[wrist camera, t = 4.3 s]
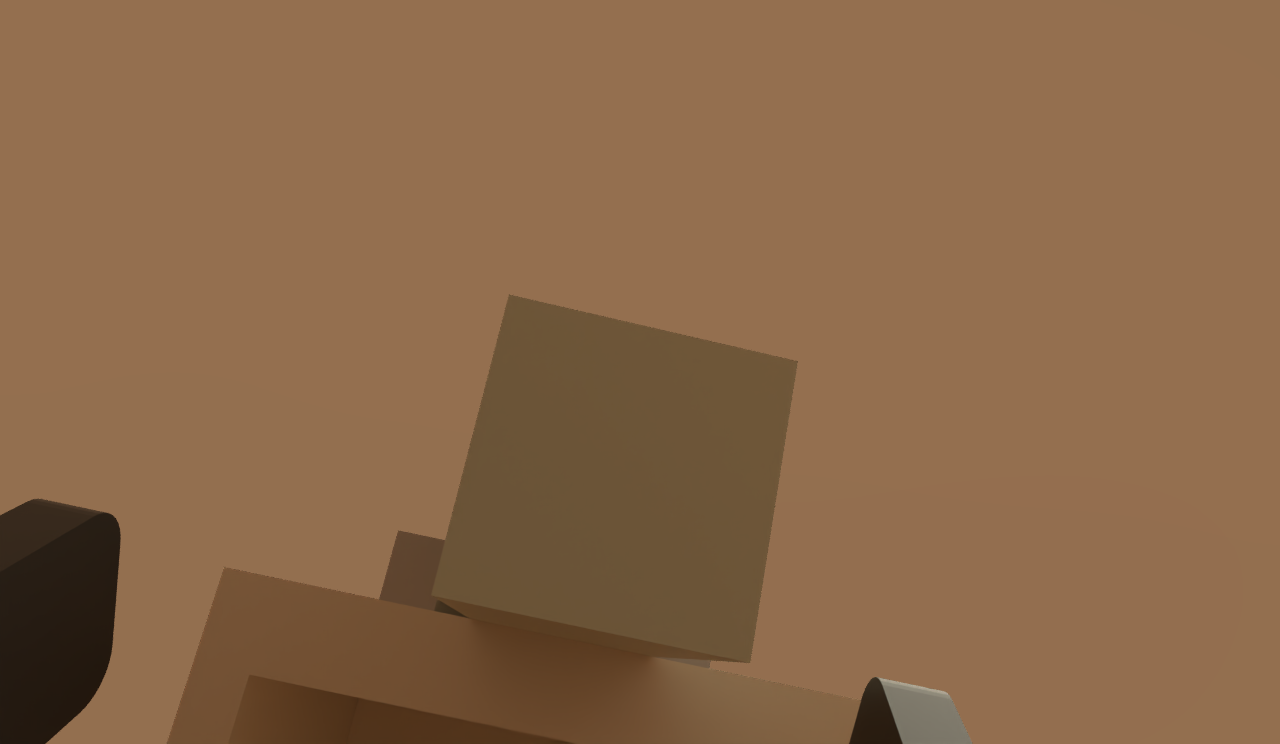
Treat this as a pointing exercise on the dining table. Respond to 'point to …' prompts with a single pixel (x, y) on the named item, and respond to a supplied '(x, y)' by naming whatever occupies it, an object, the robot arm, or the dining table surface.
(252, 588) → the block
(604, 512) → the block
